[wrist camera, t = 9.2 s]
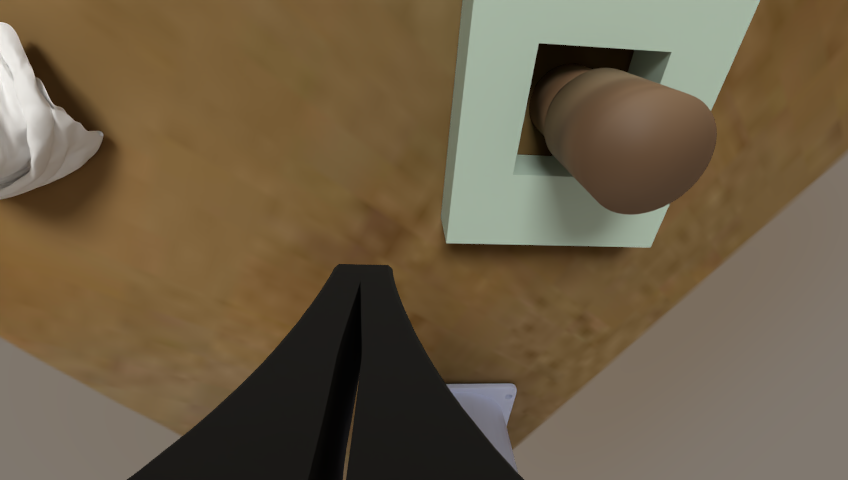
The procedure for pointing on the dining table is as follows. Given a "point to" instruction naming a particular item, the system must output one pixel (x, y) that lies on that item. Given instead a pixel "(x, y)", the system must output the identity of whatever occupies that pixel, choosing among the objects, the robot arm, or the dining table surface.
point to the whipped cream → (34, 126)
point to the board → (508, 94)
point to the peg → (623, 135)
